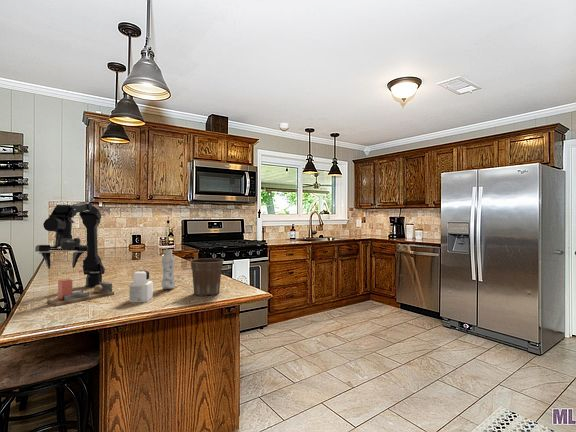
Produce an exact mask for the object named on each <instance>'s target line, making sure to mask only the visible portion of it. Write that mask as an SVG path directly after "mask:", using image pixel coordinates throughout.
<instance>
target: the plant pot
mask: <svg viewBox="0 0 576 432" xmlns="http://www.w3.org/2000/svg"><path fill="white" fill-rule="evenodd" d="M224 261H225V260H224V259H223V258H206V257H205V258H195V259H190V260H189V262H190V268H191V272H192V285H193V286H192V287H193V294H194V295H197V296H201V297H202V296H204V297H205V296H208V295H210V296H214V295H218V294H219V293H220V292H221V291H220V287H221V278H222V269H223V264H224Z"/></svg>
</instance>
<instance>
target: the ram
mask: <svg viewBox="0 0 576 432" xmlns="http://www.w3.org/2000/svg"><path fill="white" fill-rule="evenodd" d="M57 292H58V293H57V298H59V299H61V300H64V296H68V295H74V294H79V293H82V291H79V290H74V291H73V279H71V278H64V279H58V281H57Z"/></svg>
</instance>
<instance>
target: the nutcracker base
mask: <svg viewBox="0 0 576 432" xmlns="http://www.w3.org/2000/svg"><path fill="white" fill-rule="evenodd" d="M78 291H82V293H79V294H74V295H68V296H64V300H61V299H59V298H58V297H53V298H47V300H46V301H47V302H46V303H49V304H51V305H54V306H57V307H60V306H64V305H69V304H74V303H75V304H76V303H79V302H83V301H84V302H85V301H89V300H93V299H94V300H95V299H100V298H104V297H109V296H113V295H115V291H113V282H112V283H111V282H106V281H103V280H102V282H99V285H96V286H95V287H93V290H92V291H91V290H90V291H86V292H85V291H84V290H83V289H82V290H81V289H79V290H78Z"/></svg>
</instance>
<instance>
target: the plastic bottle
mask: <svg viewBox="0 0 576 432" xmlns="http://www.w3.org/2000/svg"><path fill="white" fill-rule="evenodd" d="M175 262H176V259H175V257H174V256H173V250H172V249H164V255H163V257H162V258H161V267H162V280H161V288H162V289H163V290H172V289H174V288H175V286H176V283H175V282H176V281H175V274H174V273H175V271H174V270H175Z"/></svg>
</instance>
